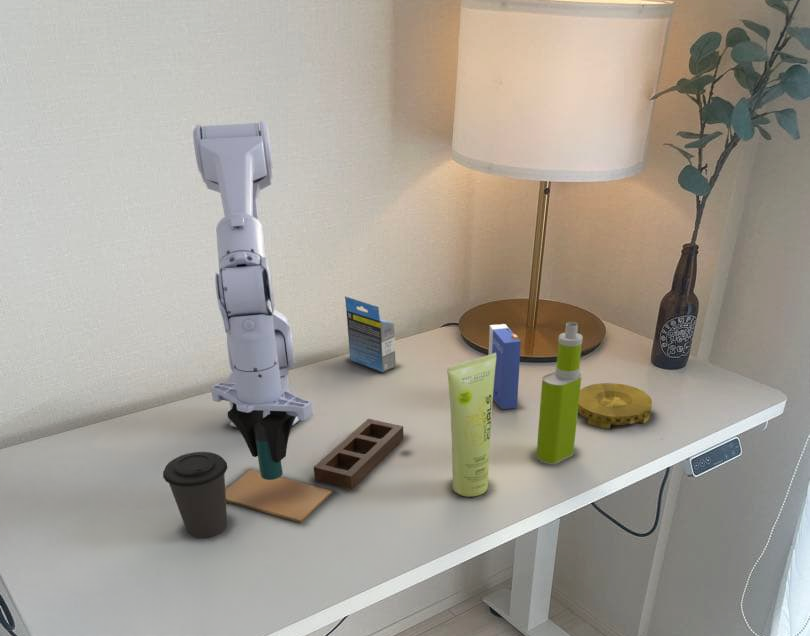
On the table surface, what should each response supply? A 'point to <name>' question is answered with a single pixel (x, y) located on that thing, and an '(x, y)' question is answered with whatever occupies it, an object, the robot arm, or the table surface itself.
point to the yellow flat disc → (614, 404)
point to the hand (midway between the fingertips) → (268, 456)
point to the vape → (560, 400)
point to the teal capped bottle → (266, 455)
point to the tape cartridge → (370, 336)
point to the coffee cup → (199, 492)
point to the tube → (471, 423)
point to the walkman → (505, 365)
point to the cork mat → (276, 496)
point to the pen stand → (356, 461)
